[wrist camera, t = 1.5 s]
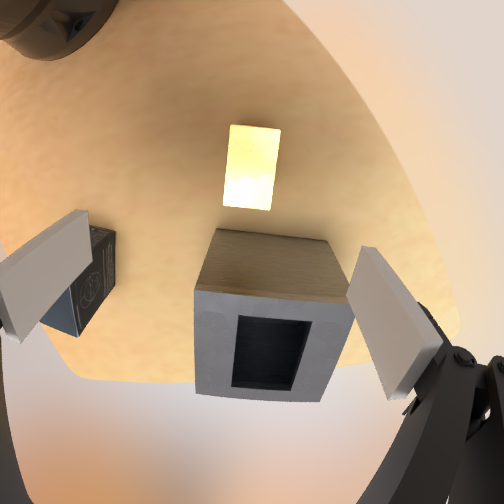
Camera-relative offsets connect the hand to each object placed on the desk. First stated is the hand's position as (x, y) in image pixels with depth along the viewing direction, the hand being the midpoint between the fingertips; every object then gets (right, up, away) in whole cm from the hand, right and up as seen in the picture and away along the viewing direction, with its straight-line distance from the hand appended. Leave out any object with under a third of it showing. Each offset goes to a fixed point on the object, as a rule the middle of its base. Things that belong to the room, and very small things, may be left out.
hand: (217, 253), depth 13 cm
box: (-18, 0, +20) cm, 26 cm away
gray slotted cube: (+3, -4, +21) cm, 21 cm away
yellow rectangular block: (+2, +9, +15) cm, 17 cm away
